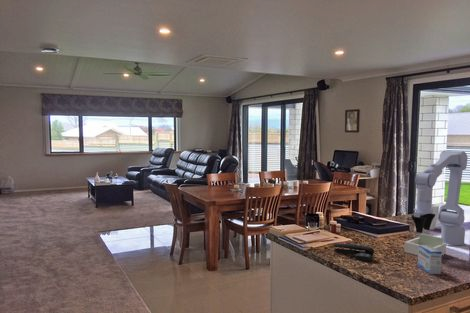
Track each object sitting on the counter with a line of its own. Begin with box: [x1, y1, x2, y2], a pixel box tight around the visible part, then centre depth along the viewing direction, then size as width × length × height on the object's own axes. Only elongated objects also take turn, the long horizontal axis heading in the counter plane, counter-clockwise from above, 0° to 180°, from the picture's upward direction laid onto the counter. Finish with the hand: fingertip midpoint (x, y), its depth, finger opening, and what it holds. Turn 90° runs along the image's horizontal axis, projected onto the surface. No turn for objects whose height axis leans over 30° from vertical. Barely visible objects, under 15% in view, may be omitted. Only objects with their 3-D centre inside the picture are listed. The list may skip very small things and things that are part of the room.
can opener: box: [333, 242, 375, 262], centre depth 153 cm, size 18×7×6 cm, turn 46°
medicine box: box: [417, 245, 443, 275], centre depth 138 cm, size 8×4×9 cm, turn 5°
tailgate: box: [419, 232, 443, 247], centre depth 161 cm, size 2×9×5 cm, turn 37°
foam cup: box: [423, 203, 440, 231], centre depth 200 cm, size 10×9×13 cm
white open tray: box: [404, 236, 447, 257], centre depth 158 cm, size 12×12×4 cm
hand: (422, 231), depth 158 cm, fingers open, 7 cm apart
